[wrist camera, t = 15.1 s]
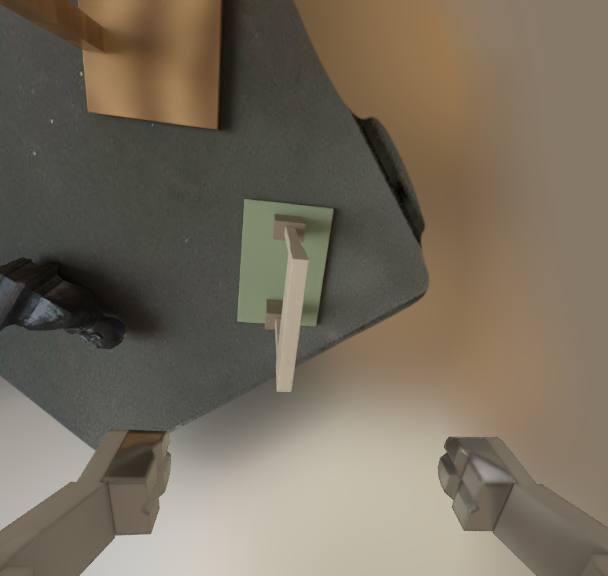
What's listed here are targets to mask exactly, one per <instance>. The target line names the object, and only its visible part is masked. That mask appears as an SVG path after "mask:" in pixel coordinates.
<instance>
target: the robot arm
mask: <svg viewBox="0 0 608 576" xmlns="http://www.w3.org/2000/svg"><path fill="white" fill-rule="evenodd" d="M169 443H170V437H169V432H167V431H145V430H114V429H111V430H110V431H109V432H108V433H107V434H106V435H105V436H104V438H103V440H102V441H101V443H100V445H99V446H98V448H97V450H96V451H95V453H94V455H93V456H92V458H91V459H90V461H89V463H88V464H87V466H86V468H85V469H84V471H83V472H82V474H81V476H80V477H79V479H78V481H77V482H70V483H69V484H67V485H66V486H64V487H63V488H61V489H60V490H58V491H57V492H55V493H54V494H53V495H51V496H50V497H48V498H47V499H45V500H44V501H43V502H41V503H40V504H38V505H37V506H35V507H34V508H33V509H31V510H30V511H28V512H27V513H25V514H24V515H22V516H21V517H20V518H18V519H17V520H15V521H14V522H12V523H11V524H9V525H8V526H7V527H5V528H4V529H2V530H1V531H0V576H79V575H80V574H81V573H82V572H83V571H84V570H85V569H86V568H87V567H88V566H89V565H90V564H91V563H92V562H93V561H94V559H95V558H96V557H97V556H98V555H99V554H100V553H101V552H102V551H103V550H104V549H105V548H106V547H107V546H108V544H109V543H110V542H111V541H112V540H113V539H114V538H115V535H137V534H151V532H152V529H153V526H154V523H155V520H156V517H157V514H158V511H159V497H160V496H161V495H162V494H163V493H164V492H165V490H166V487H167V483H168V479H169V474H170V466H171V454H170V453H169V452H168V451H167V449H168V446H169ZM444 448H445V450H446V451H447V453H446V454H444V455H443V456H442V457H441V458H440V461H439V465H438V475H439V480H440V483H441V485H442V488H443V490H444V492H445V493H446V494H447V495H449V496H450V497H451V498H452V499H453V505H452V508H453V510H454V512H455V514H456V516H457V518H458V520H459V522H460V524H461V526H462V528H463V530H464V531H493V534H495V536H497V537H498V538H499V539H500V540H501V541H502V542H503V543H504V544H505V545H506V546H507V547H508V548H509V549H510V550H511V551H512V552H513V553H514V554H515V555H516V556H517V557H518V558H519V559H520V560H521V561H522V562H523V563H524V564H525V565H526V566H527V567H528V568H529V569H530V570H531V571H532V572H533V573H534V574H535V575H536V576H608V527H606V526H605V525H603V524H602V523H600V522H599V521H597V520H595V519H594V518H593V517H591V516H590V515H588V514H587V513H585V512H583V511H582V510H580V509H579V508H577V507H576V506H574V505H573V504H571V503H570V502H568V501H567V500H565V499H564V498H562V497H561V496H559V495H558V494H556V493H555V492H553V491H551V490H550V489H548V488H547V487H545V486H544V485H542V484H536V482H535V481H534V480H533V479H532V478H531V476H530V475H529V474H528V472H527V471H526V470H525V468H524V467H523V466H522V465H521V463H520V462H519V461H518V460H517V458H516V457H515V456H514V455H513V453H512V452H511V451H510V450H509V448H508V447H507V446H506V445H505V443H504V442H503V441H502V440H501V439H499V438H498V437H449V438H448V439H447V440H446V442H445V445H444Z"/></svg>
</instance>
